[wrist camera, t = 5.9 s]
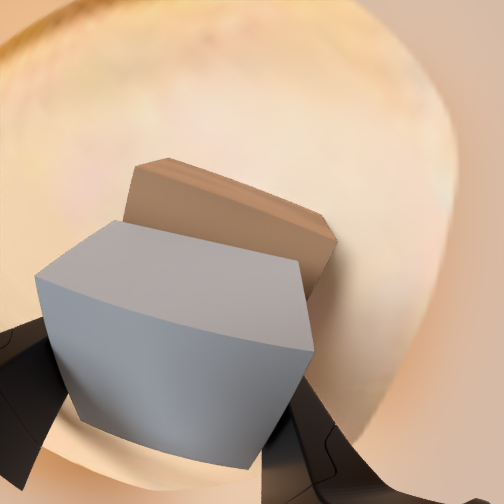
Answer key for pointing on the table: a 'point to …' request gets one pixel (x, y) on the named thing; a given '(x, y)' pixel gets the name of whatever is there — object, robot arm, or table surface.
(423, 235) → the table surface
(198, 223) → the walnut base
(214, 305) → the grey block
